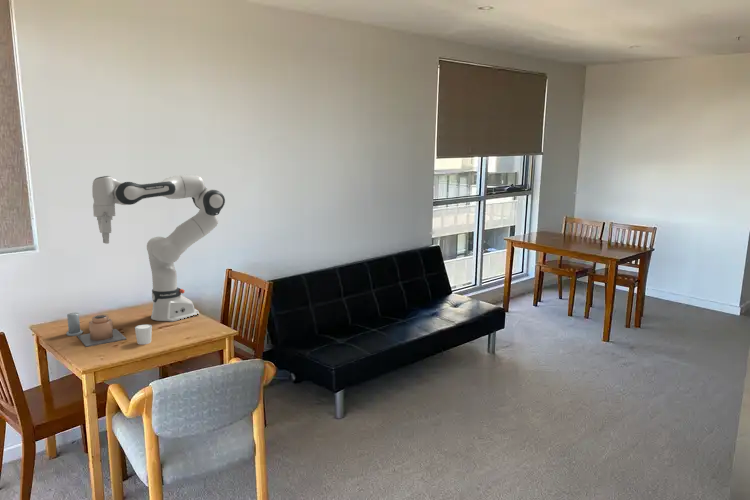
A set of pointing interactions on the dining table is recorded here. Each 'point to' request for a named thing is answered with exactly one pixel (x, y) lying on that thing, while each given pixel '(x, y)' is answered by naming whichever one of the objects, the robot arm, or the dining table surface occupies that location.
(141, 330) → the white cup
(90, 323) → the jar
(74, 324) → the stopper
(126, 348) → the dining table surface
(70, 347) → the dining table surface
